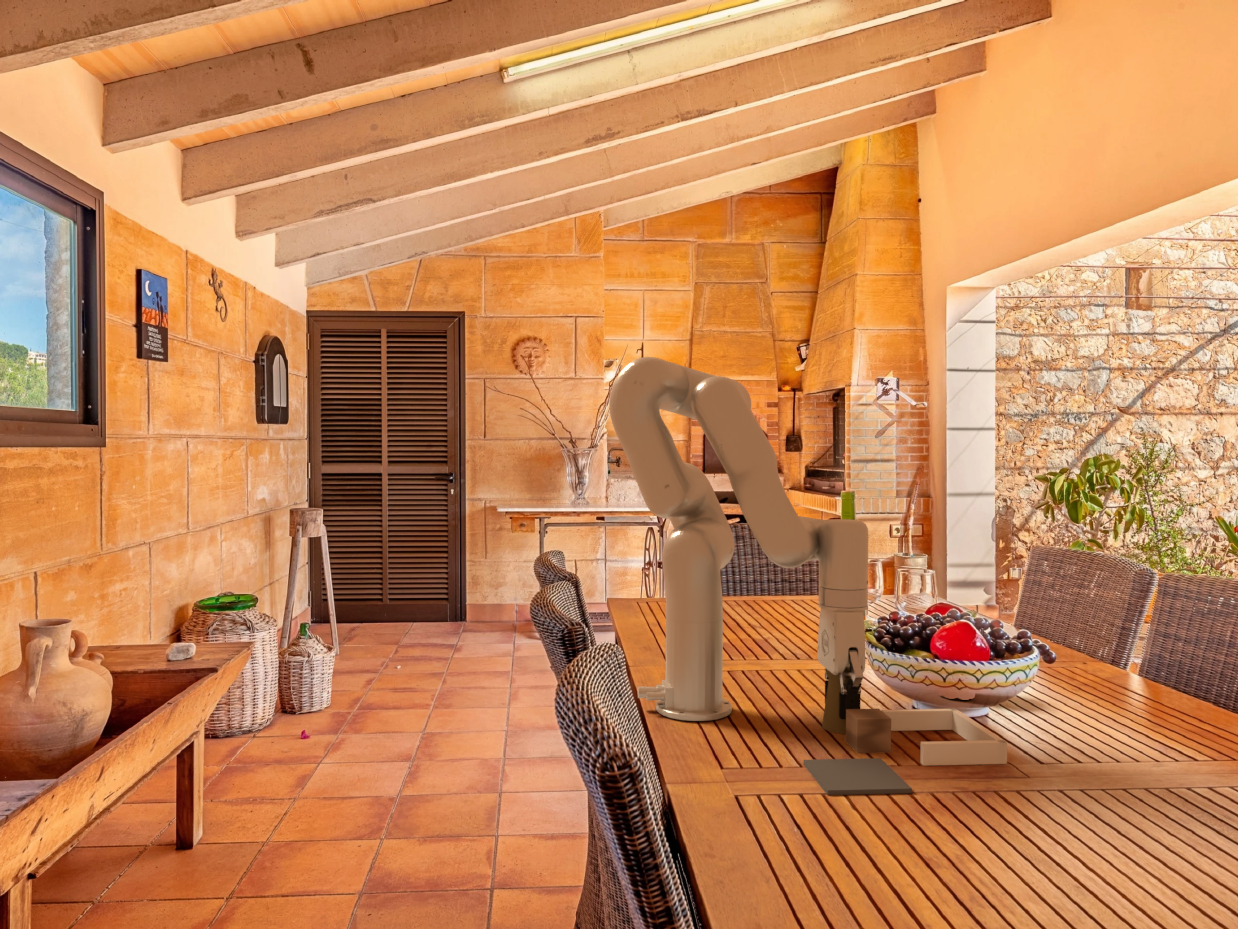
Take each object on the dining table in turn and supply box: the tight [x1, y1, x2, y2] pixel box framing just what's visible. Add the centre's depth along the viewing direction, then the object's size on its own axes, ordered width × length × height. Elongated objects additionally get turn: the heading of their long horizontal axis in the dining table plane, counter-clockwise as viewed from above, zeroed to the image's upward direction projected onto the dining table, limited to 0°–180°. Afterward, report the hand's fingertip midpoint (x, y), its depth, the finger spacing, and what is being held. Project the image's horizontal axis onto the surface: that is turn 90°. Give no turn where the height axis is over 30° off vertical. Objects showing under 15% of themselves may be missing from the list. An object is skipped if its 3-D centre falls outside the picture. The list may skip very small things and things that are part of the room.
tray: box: [880, 708, 1008, 766], centre depth 131 cm, size 12×16×3 cm
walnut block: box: [845, 708, 892, 754], centre depth 130 cm, size 5×5×5 cm
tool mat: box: [803, 757, 913, 796], centre depth 118 cm, size 11×11×1 cm
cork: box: [821, 667, 851, 735], centre depth 139 cm, size 6×6×11 cm
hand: (842, 710), depth 139 cm, fingers open, 6 cm apart
